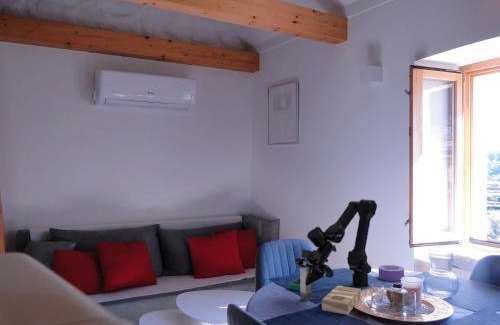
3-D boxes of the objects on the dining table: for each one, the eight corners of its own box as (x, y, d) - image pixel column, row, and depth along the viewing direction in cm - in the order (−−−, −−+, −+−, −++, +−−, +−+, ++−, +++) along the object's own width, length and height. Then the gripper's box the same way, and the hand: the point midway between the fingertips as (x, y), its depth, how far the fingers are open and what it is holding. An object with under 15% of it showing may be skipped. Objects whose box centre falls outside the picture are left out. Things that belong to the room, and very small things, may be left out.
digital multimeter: (314, 283, 198) (314, 277, 198) (303, 292, 185) (303, 285, 185) (300, 281, 202) (300, 275, 202) (287, 290, 189) (287, 283, 189)
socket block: (337, 295, 179) (337, 285, 179) (361, 298, 175) (360, 288, 174) (321, 310, 162) (321, 299, 162) (347, 314, 157) (347, 303, 157)
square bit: (306, 297, 177) (305, 266, 177) (311, 299, 174) (311, 268, 174) (300, 299, 175) (300, 267, 175) (305, 301, 172) (305, 269, 172)
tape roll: (377, 280, 201) (377, 269, 201) (379, 273, 212) (379, 263, 212) (403, 282, 197) (403, 271, 196) (404, 275, 207) (404, 265, 207)
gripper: (297, 238, 184) (278, 268, 178) (328, 245, 169) (308, 277, 163) (311, 254, 189) (292, 283, 183) (342, 262, 174) (323, 294, 167)
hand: (303, 284), depth 174 cm, fingers closed on square bit, 3 cm apart
